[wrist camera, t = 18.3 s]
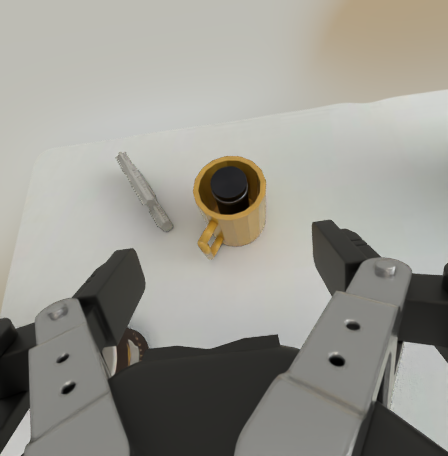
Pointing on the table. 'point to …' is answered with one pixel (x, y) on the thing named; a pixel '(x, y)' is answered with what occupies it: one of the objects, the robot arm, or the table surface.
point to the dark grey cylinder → (230, 190)
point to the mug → (237, 223)
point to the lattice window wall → (144, 191)
